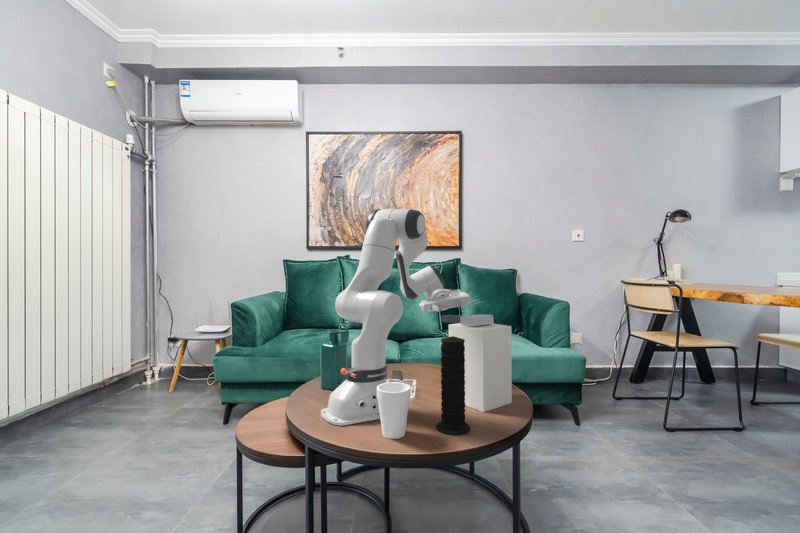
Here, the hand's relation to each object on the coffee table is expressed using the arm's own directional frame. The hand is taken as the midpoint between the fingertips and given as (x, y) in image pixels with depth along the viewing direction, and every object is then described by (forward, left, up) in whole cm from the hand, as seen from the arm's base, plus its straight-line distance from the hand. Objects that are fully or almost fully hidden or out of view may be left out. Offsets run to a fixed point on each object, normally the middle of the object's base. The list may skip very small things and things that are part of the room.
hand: (450, 307), depth 153 cm
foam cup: (-43, -22, -31) cm, 57 cm away
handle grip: (-27, -29, -31) cm, 50 cm away
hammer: (-4, -10, -5) cm, 12 cm away
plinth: (-4, -18, -30) cm, 36 cm away
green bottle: (-37, +26, -31) cm, 54 cm away
